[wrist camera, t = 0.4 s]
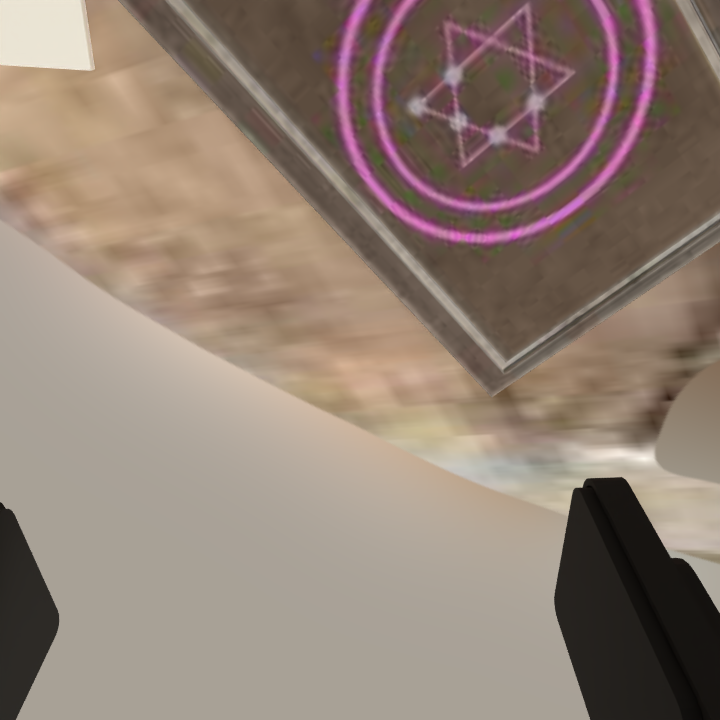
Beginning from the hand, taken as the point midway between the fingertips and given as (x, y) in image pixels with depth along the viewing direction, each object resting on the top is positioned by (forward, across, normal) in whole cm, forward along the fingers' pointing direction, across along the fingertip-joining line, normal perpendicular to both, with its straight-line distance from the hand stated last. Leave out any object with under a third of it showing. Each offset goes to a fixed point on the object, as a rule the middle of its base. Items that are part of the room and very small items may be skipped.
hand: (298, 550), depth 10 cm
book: (+31, -8, -4) cm, 32 cm away
